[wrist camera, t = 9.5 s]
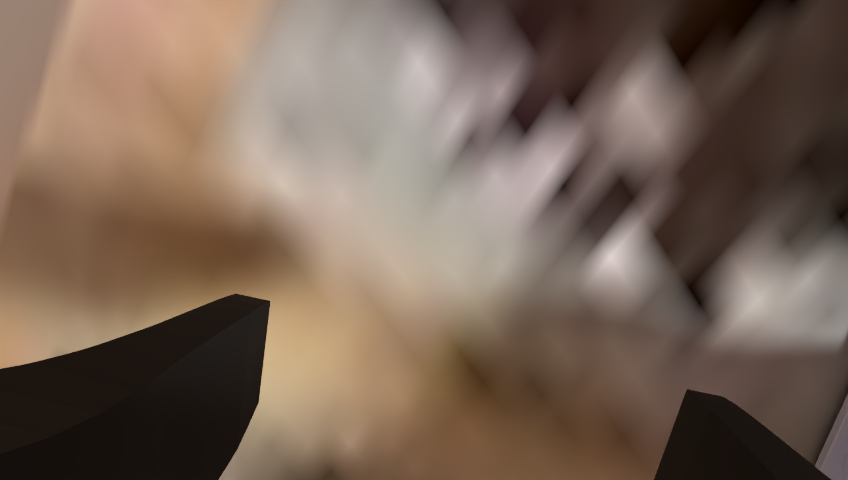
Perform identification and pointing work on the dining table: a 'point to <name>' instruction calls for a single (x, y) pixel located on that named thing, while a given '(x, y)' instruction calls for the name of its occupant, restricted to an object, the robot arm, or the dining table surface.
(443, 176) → the dining table surface
